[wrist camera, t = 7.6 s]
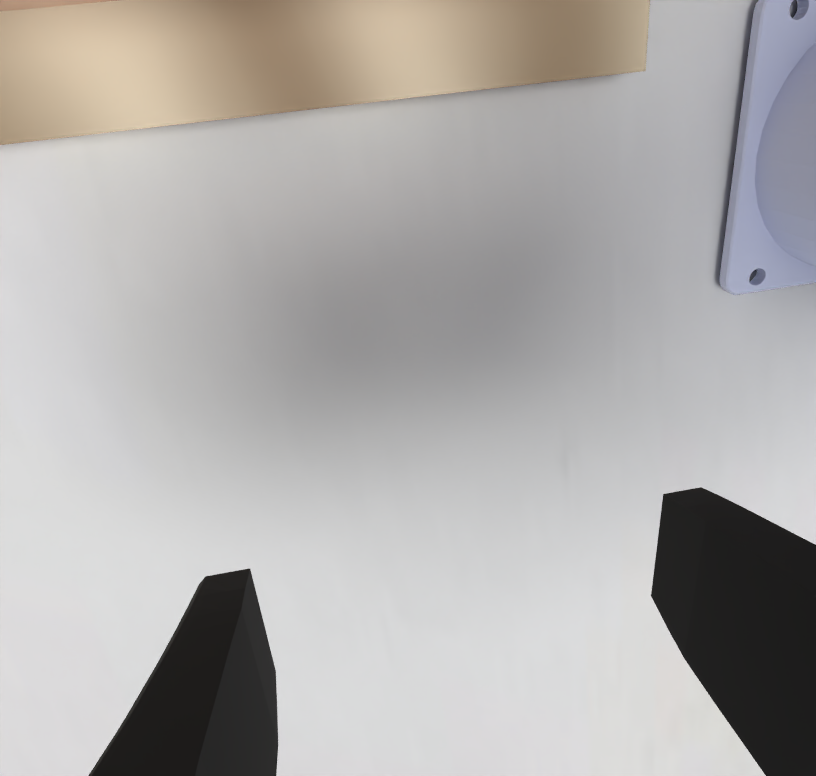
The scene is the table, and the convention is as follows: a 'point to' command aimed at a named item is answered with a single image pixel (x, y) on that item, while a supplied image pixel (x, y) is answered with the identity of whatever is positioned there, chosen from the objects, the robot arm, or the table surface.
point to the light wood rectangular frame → (289, 56)
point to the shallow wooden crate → (41, 3)
